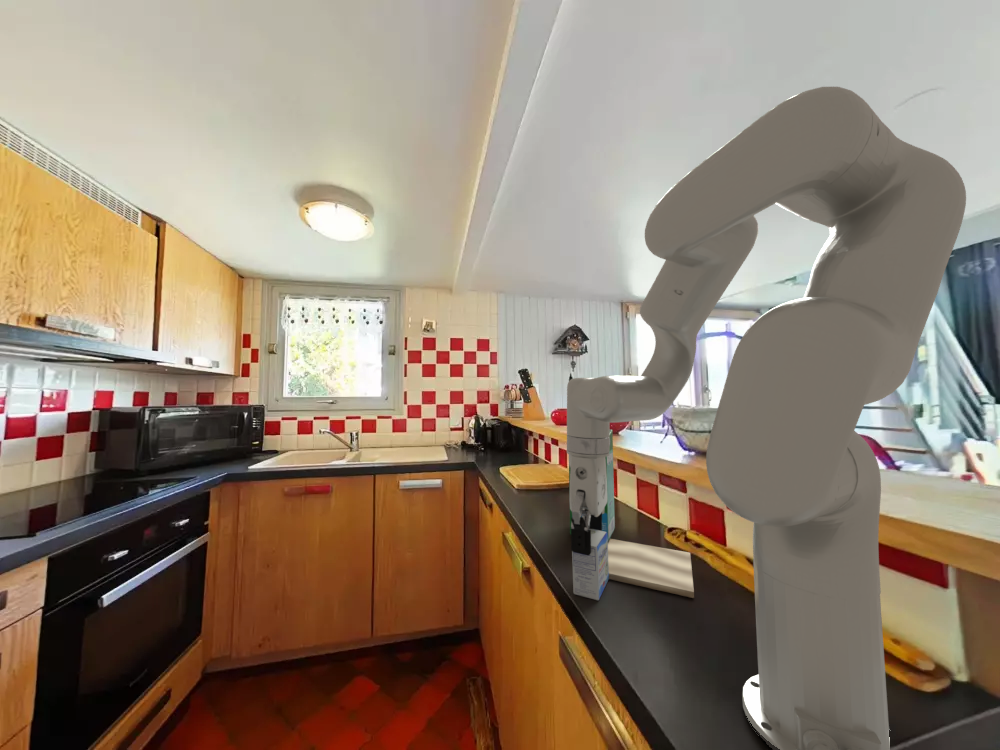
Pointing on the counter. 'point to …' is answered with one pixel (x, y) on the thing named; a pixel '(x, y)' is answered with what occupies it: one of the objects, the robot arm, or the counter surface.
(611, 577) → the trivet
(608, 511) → the milk carton
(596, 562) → the medicine box
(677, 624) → the counter surface
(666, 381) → the robot arm
